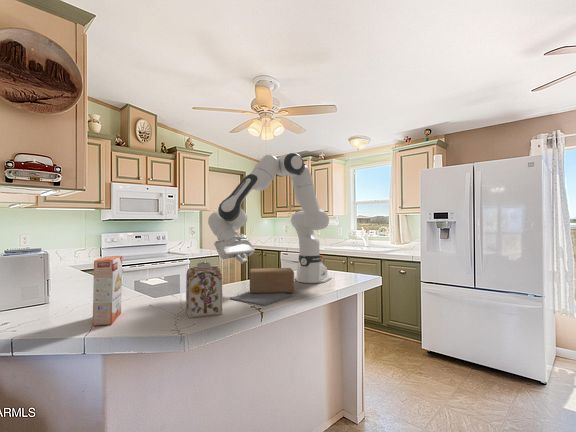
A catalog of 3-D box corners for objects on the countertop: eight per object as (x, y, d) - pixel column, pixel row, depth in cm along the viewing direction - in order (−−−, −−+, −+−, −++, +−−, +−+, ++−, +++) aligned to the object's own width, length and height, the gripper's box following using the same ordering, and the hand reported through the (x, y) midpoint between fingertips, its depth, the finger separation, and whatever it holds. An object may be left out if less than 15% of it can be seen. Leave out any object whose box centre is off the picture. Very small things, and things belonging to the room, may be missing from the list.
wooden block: (249, 294, 140) (294, 293, 143) (249, 271, 140) (294, 270, 143) (249, 289, 150) (291, 288, 153) (249, 268, 150) (291, 267, 153)
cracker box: (113, 325, 101) (113, 259, 101) (91, 326, 99) (92, 260, 100) (122, 312, 115) (123, 255, 115) (103, 314, 113) (104, 255, 113)
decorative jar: (185, 309, 119) (186, 261, 119) (217, 306, 123) (217, 260, 123) (188, 318, 108) (188, 265, 108) (222, 315, 112) (222, 264, 112)
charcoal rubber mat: (260, 290, 151) (260, 289, 151) (293, 295, 140) (293, 294, 140) (229, 299, 134) (229, 297, 134) (264, 306, 123) (264, 304, 123)
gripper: (216, 236, 139) (232, 260, 133) (247, 234, 156) (263, 255, 150) (209, 246, 141) (224, 270, 136) (241, 243, 158) (255, 264, 152)
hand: (245, 262), depth 143 cm, fingers closed
